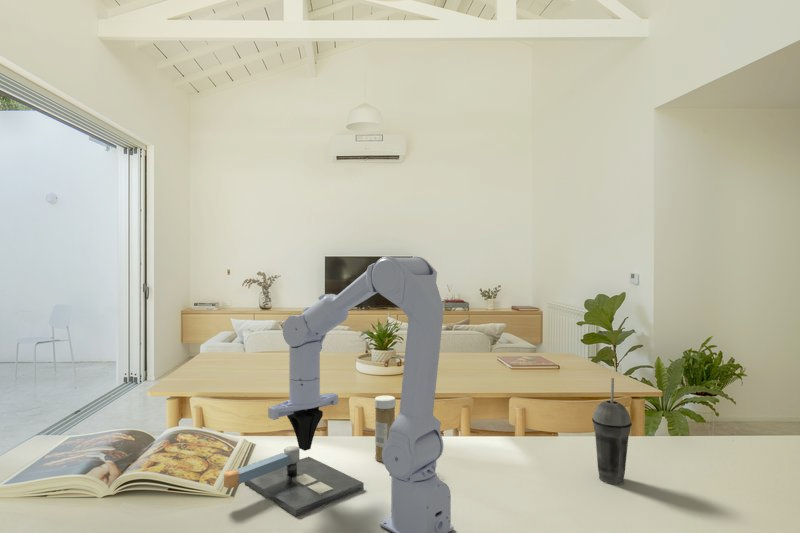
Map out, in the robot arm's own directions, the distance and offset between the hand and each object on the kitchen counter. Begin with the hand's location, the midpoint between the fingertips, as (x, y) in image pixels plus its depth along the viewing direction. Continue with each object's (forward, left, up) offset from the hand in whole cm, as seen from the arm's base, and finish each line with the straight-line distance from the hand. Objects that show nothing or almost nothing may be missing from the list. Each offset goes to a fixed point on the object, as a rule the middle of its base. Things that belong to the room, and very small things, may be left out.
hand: (304, 448), depth 98 cm
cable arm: (+4, +7, -4) cm, 8 cm away
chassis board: (+1, 0, -7) cm, 7 cm away
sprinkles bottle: (0, -20, -8) cm, 22 cm away
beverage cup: (-39, -45, -8) cm, 61 cm away
